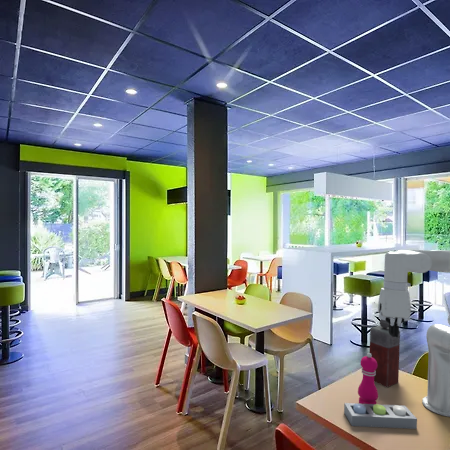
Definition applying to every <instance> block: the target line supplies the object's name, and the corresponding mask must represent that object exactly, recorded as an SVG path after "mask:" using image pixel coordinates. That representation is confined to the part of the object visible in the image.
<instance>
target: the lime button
mask: <svg viewBox="0 0 450 450" xmlns="http://www.w3.org/2000/svg"><path fill="white" fill-rule="evenodd" d="M377 404H378V403H376V405H374V406H373V412H374V413H375V414H378V415H386V408H385V407H384V406H382V405H383V404H380V405H377Z"/></svg>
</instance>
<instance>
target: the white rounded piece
mask: <svg viewBox="0 0 450 450" xmlns="http://www.w3.org/2000/svg"><path fill="white" fill-rule="evenodd" d="M394 405H395V406H393V413H394V414H395V415H400V416H406V409H405V408H404V407H402V406H398V404H394Z"/></svg>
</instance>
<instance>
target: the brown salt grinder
mask: <svg viewBox="0 0 450 450" xmlns="http://www.w3.org/2000/svg"><path fill="white" fill-rule="evenodd" d="M400 339H401V331H400V330H399V334H398V337H392V336H391V335H390V334H389V324H388V323H387V322H386V321H385V320H382V319H380V320H379V325H377V326H373V327H370V331H369V352H368V353H370V354H371V355H372V358H374V359H375V360H376V362H377V369H376V370H375V371H376V375H375V376H374V383H376V384H379V385H380V386H383V387H386V388H389V387H390V388H391V387H392V386H394V385H396V384H398V383H399V377H400V376H399V375H400V374H399V373H400V347H401V346H400V345H401V344H400V343H401V340H400Z"/></svg>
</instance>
